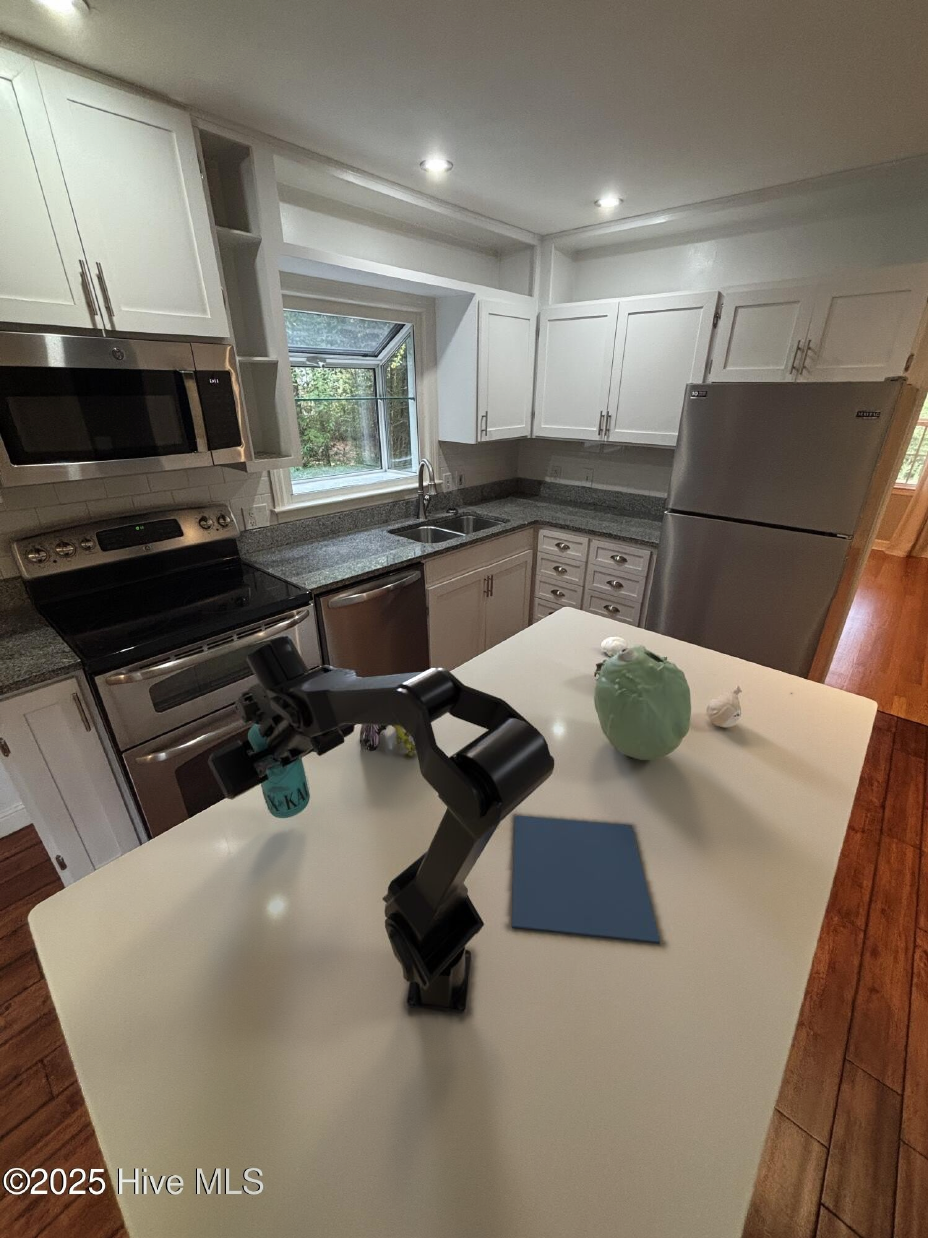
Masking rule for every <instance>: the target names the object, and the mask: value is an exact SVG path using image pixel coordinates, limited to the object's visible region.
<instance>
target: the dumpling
mask: <svg viewBox="0 0 928 1238" xmlns="http://www.w3.org/2000/svg"><path fill="white" fill-rule="evenodd" d="M600 648H601V649H602V650H603V651H606V654H607V656H609V657H612V656H611V655H610V654H617V652H618V651H620V650H622V649H623V648H628V642H627V641H626V640H625V638H622V637H619V636H610V637H608V638H605V639H603V640H602V642H601V643H600Z"/></svg>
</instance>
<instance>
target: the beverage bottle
mask: <svg viewBox="0 0 928 1238" xmlns="http://www.w3.org/2000/svg"><path fill="white" fill-rule="evenodd" d="M252 723H253V725H252V726H251V728H250V729H249V731H247V740H249V741H250V743H251V745H252V747H253V749H254V751H257V752H259V751H261V750H263V749H265V748H267V744H266V743H265V739H266V737H264V738H262V737H261V735H260V733H259V731H258V729H259V728H260V724H259V722H257V723H254V722H253V721H252ZM270 757H272V758H273V756H272V755H271V756H269V757H267V758H265V759H263V760H262V761H263V762H264V761H265V760H266V761H267V759H268V758H269V759H270ZM264 763H265V762H264ZM266 774H267V776H268V778H269V779H268V780H267V781H265V782H263V783H261V784H260V788H261V792H262V795H263V799H264V805H266V808H267V812H268V813H269V814H271V816H273V817H275V818H277V819H288V818H292V817H295V816H297V815H299V814H301V813H302V812H303V811H304V810H305V809H306V808H307V806H309V802H310V799H311V792H310V784H309V783H308V782H309V779H308V776H307V774H306V770H305V763H304V762H303V757H302V758H301V759H299V760H297V761H295V762H293V763H292V764H290V765H288V766H286V767H284V768H282V766H281V764H280V762H277V763H276V764H274V765H272V766H270V767H268V768H267V772H266Z"/></svg>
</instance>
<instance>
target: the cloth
mask: <svg viewBox="0 0 928 1238" xmlns="http://www.w3.org/2000/svg"><path fill="white" fill-rule="evenodd" d="M513 827H514V831H513V833H514V834H513V866H512V868H513V869H512V870H513V871H512V907H511V909H512V910H511V912H512V913H511V928H514V929H515V928H516V929H526V930H534V931H542V932H543V931H544V932H551V933H553V932H554V933H563V934H572V935H580V936H592V937H599V938H607V939H608V938H609V939H616V940H617V939H618V940H627V941H637V942H646V943H656V944H661V939H660V935H659V931H658V926H657V922H656V919H655V914H654V911H653V905H652V902H651V898H650V894H649V889H648V886H647V882H646V877H645V873H644V869H643V865H642V861H641V857H640V853H639V849H638V845H637V841H636V837H635V833H634V828H633V825H632V824H625V823H623V824H622V823H610V822H597V821H588V820H587V821H586V820H575V819H565V818H564V819H563V818H551V817H550V818H549V817H539V816H528V815H514V826H513Z"/></svg>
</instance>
